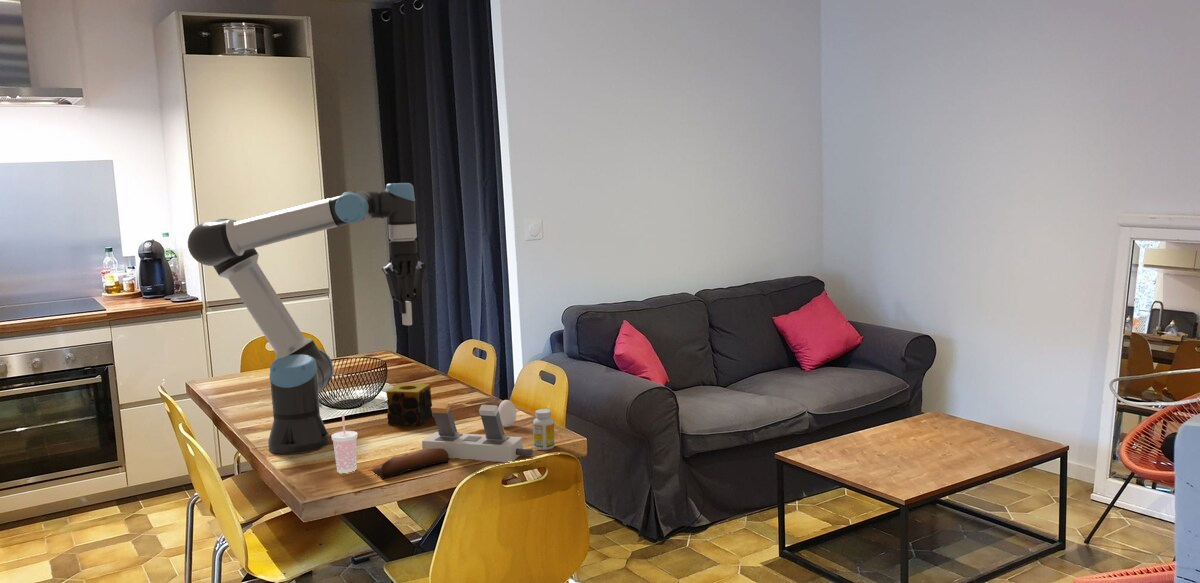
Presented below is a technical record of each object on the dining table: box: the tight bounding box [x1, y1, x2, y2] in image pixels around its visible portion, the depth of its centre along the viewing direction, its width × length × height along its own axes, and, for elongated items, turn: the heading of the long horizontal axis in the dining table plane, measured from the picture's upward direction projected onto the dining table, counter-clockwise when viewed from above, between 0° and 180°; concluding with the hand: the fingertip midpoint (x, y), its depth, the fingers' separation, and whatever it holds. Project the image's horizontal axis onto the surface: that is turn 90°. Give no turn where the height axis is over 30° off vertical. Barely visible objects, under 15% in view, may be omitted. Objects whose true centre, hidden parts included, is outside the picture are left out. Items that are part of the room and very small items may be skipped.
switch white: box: [478, 404, 507, 440], centre depth 224 cm, size 2×5×10 cm, turn 73°
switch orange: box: [431, 401, 460, 437], centre depth 228 cm, size 2×5×10 cm, turn 73°
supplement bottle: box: [532, 408, 555, 451], centre depth 233 cm, size 5×5×10 cm
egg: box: [498, 399, 517, 428], centre depth 252 cm, size 5×5×8 cm
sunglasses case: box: [369, 448, 450, 480], centre depth 220 cm, size 18×7×7 cm
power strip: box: [421, 431, 534, 463], centre depth 228 cm, size 28×8×4 cm, turn 73°
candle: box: [385, 383, 433, 427], centre depth 261 cm, size 10×10×10 cm
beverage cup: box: [331, 413, 358, 474], centre depth 218 cm, size 6×6×14 cm
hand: (407, 324), depth 251 cm, fingers closed
